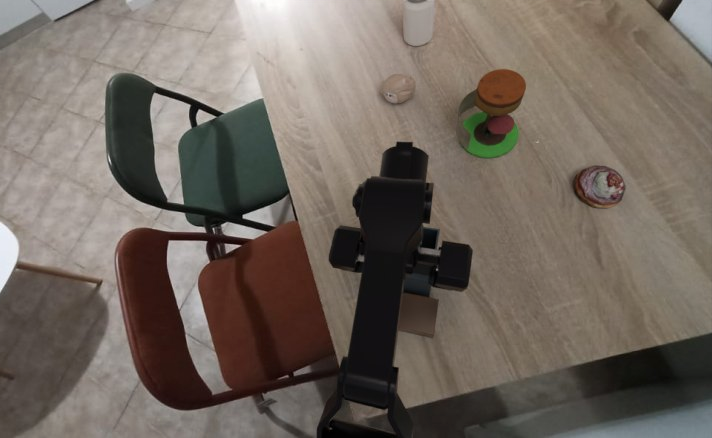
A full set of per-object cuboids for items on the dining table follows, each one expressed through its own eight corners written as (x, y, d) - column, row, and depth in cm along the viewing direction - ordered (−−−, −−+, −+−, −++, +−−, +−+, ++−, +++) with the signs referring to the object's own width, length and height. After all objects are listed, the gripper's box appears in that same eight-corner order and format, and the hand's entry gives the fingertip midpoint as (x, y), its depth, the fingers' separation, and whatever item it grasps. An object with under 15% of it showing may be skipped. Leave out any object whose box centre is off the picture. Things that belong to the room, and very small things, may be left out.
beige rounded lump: (392, 114, 95) (391, 90, 88) (377, 95, 98) (374, 70, 91) (420, 98, 94) (420, 73, 87) (403, 80, 97) (403, 54, 90)
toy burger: (518, 104, 87) (537, 50, 74) (523, 159, 83) (544, 112, 70) (454, 108, 91) (461, 57, 78) (455, 161, 87) (463, 116, 73)
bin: (425, 322, 71) (437, 245, 66) (382, 313, 74) (390, 238, 68) (431, 280, 83) (442, 212, 78) (394, 273, 86) (401, 207, 80)
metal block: (432, 338, 75) (433, 334, 72) (374, 325, 79) (372, 321, 75) (437, 304, 77) (438, 299, 74) (380, 293, 81) (378, 287, 77)
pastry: (621, 212, 74) (635, 200, 70) (570, 205, 77) (579, 193, 73) (624, 171, 77) (637, 157, 72) (574, 166, 80) (583, 151, 75)
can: (400, 46, 101) (399, 3, 91) (407, 24, 103) (407, -20, 93) (429, 48, 99) (431, 5, 88) (436, 26, 101) (439, -19, 90)
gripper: (484, 190, 55) (469, 236, 68) (337, 174, 61) (350, 219, 75) (474, 274, 51) (460, 305, 64) (319, 247, 58) (336, 281, 71)
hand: (398, 274), depth 69 cm, fingers open, 9 cm apart
